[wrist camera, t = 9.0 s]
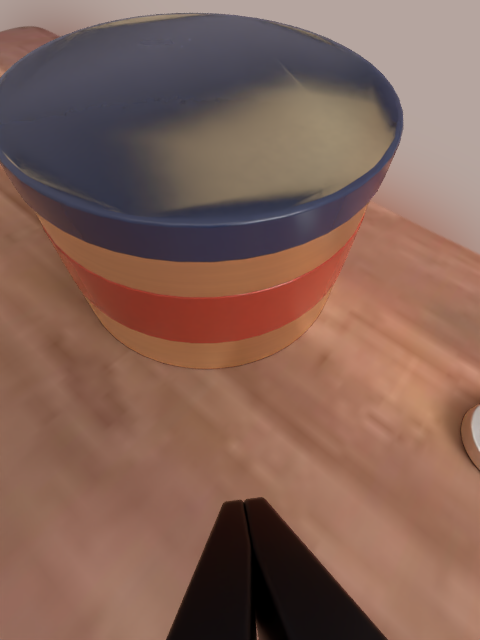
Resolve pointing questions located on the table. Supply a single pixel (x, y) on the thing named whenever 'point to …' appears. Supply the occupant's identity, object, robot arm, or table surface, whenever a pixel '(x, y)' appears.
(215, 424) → the table surface
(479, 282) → the table surface
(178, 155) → the tin
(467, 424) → the spoon
